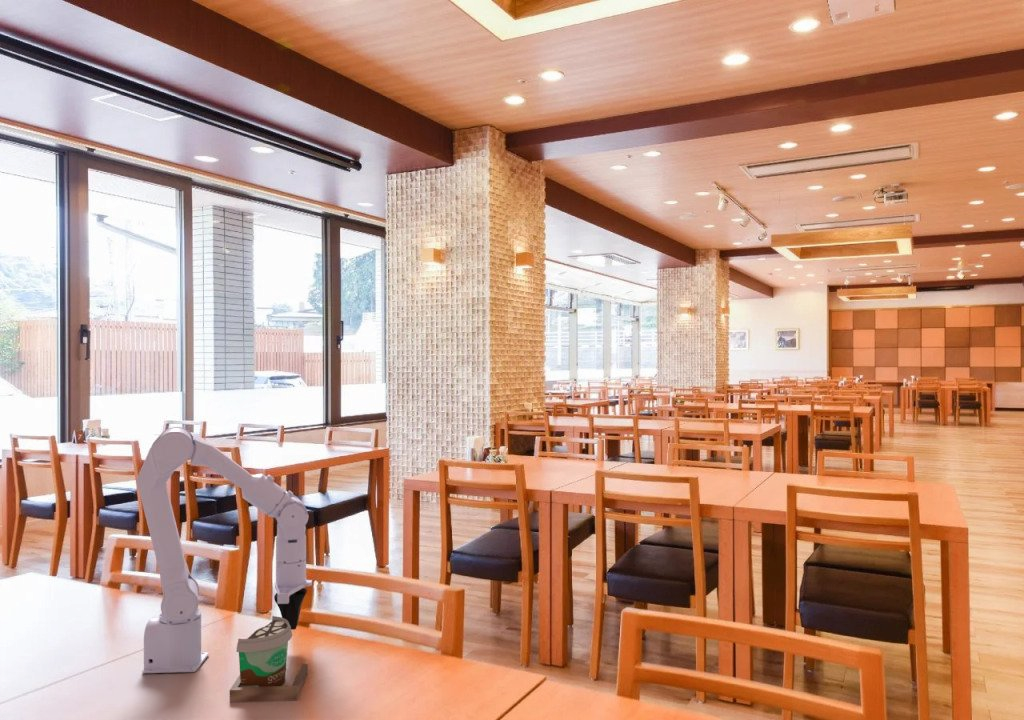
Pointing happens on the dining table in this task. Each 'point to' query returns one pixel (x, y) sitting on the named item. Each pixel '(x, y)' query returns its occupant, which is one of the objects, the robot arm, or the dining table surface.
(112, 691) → the dining table surface
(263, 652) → the food container
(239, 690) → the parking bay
